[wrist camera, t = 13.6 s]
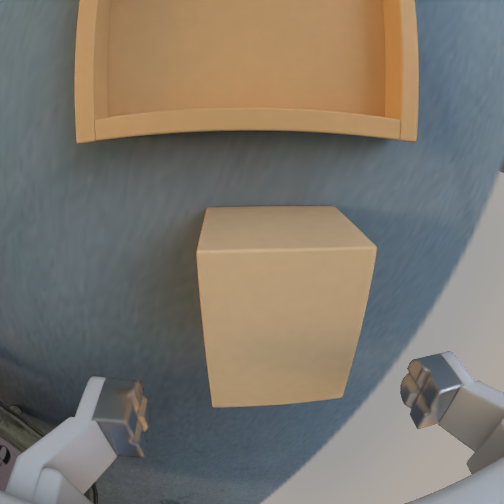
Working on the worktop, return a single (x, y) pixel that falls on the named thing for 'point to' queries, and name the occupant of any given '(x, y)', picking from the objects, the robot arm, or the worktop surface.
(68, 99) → the worktop surface
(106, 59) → the tray
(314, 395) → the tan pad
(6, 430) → the tabletop clock
